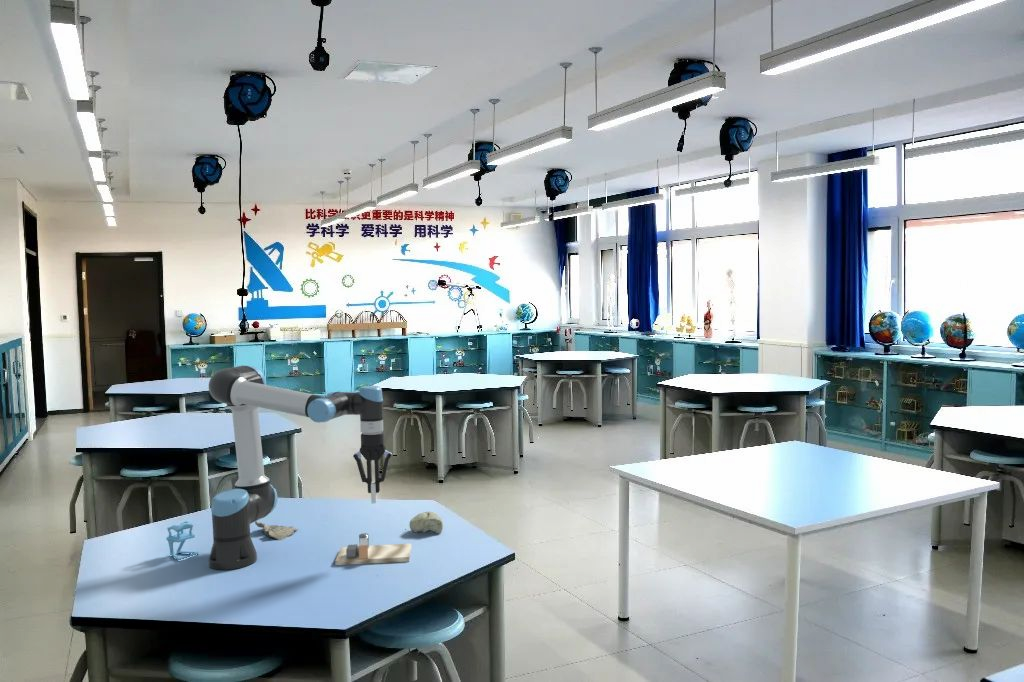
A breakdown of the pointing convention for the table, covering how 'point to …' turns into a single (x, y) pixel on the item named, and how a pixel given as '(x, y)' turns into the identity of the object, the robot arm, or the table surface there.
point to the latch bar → (363, 546)
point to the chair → (180, 538)
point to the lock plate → (377, 554)
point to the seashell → (426, 522)
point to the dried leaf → (276, 530)
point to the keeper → (351, 551)
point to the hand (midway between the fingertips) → (374, 502)
